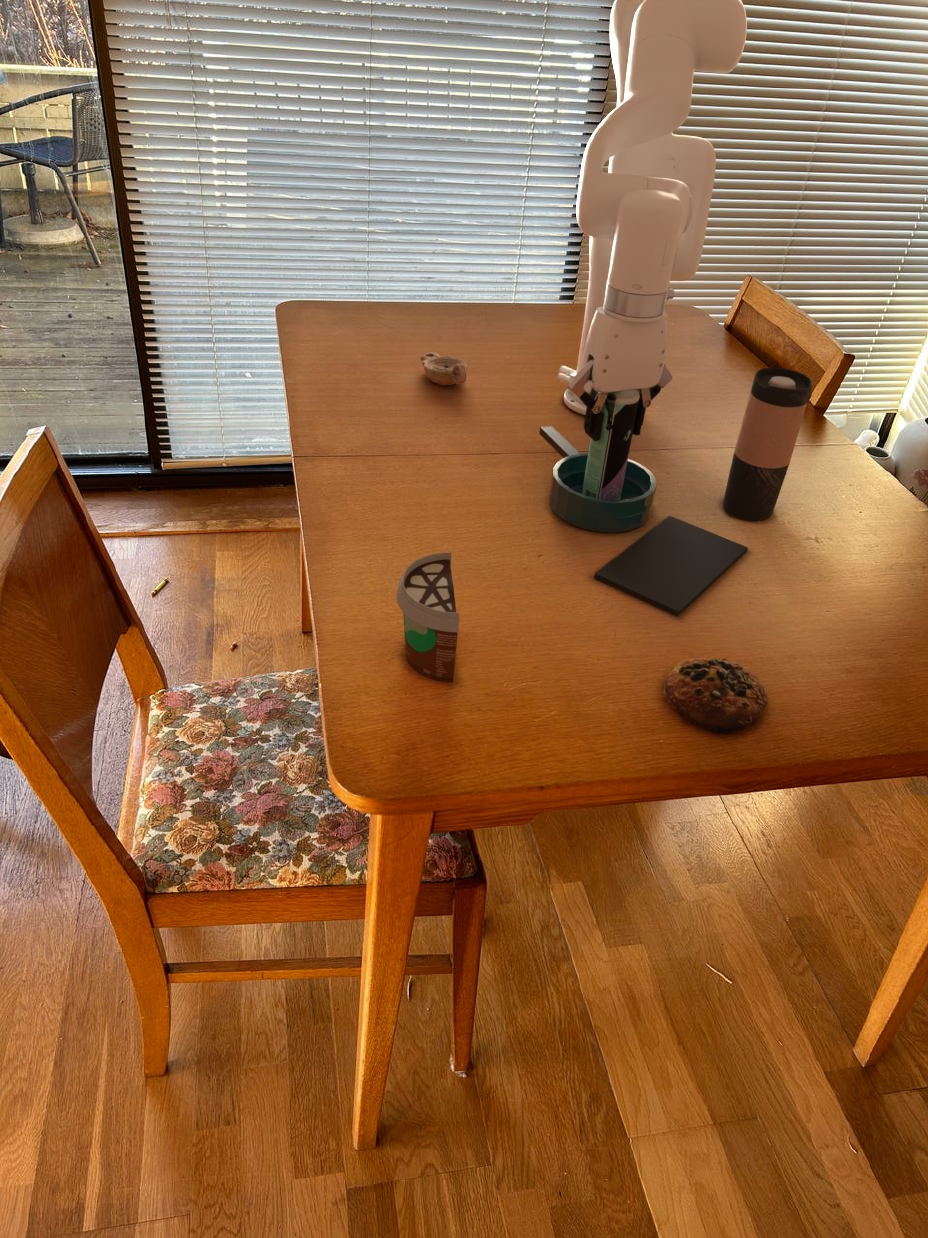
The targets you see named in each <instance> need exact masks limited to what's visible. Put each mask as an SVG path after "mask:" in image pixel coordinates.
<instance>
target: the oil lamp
mask: <svg viewBox="0 0 928 1238" xmlns="http://www.w3.org/2000/svg"><path fill="white" fill-rule="evenodd" d="M419 359H420V361H421V363H422V366H423V370H424V372H425V375H426V377H427V378H428V379H429V380H430V381H431V382H432V383H434V384H437V385H440V386H452V385H455V384H456V385H459V384H464V383H466V382H467V371H468V365H467V364H466V363H465V362H464V361H463V360H461V359H459V358H455V357H452V356H451V355H447V356H441V355H439V353H438V352H426V353H424V354H422V355H420V357H419Z"/></svg>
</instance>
